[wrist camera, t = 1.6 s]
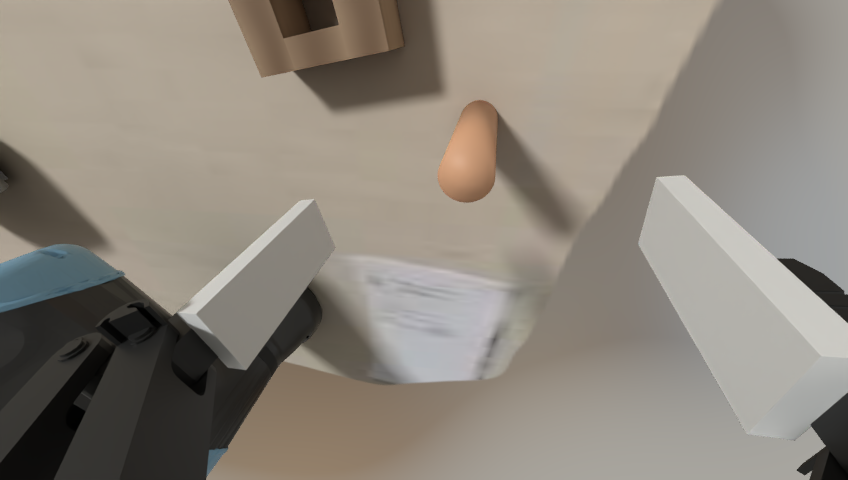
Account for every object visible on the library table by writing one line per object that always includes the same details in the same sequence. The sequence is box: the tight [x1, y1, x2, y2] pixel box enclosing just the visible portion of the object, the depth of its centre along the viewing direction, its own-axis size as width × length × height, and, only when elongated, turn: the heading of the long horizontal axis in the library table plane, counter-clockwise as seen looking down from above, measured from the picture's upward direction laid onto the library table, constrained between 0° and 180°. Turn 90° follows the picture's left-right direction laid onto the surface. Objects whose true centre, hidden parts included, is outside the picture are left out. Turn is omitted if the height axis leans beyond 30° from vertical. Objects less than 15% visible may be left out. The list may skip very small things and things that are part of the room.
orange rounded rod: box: [438, 100, 498, 202], centre depth 20 cm, size 3×3×11 cm
